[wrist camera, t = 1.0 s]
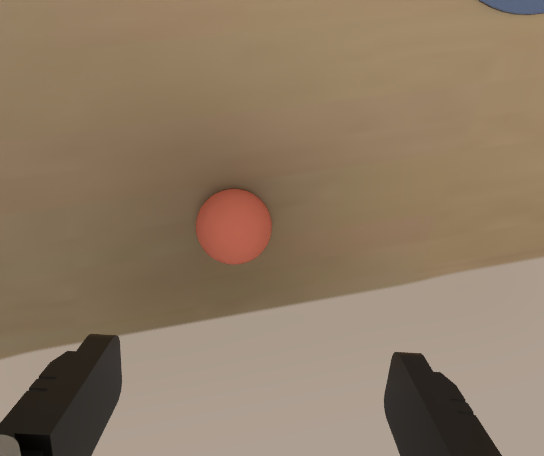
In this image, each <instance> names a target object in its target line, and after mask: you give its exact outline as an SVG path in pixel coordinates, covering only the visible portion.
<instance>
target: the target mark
mask: <svg viewBox="0 0 544 456" xmlns="http://www.w3.org/2000/svg"><path fill="white" fill-rule="evenodd" d="M479 1H481V2H482V3H484V4H486V5H488V6H490V7H492V8H494V9H497V10H500V11H503V12H508V13H513V14H526V15H530V14H539V13H544V0H479Z"/></svg>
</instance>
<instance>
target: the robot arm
mask: <svg viewBox="0 0 544 456" xmlns="http://www.w3.org/2000/svg"><path fill="white" fill-rule="evenodd" d="M121 386H122V374H121V356H120V340H119V337H118V336H117V335H100V334H90V335H88V336H87V338H86V339H85V340H84V342H83V343H82V344H81V346H80V347H79V348H78V350H77V351H67V352H65V353H64V354H62V355H61V356H59V357H58V358H56V359H55V360H53V361H52V362H50V364H49V365H48V366H47V367H46V368H45V370H44V371H43V372H42V373H41V374H40V376H39V379H36V381H35V382H34V383H33V384H32V385H31V386H30V388H29V391H27V392H26V393H25V394H24V395H23V396H22V397H21V399H20V400H19V401H18V402H17V404H16V405H15V406H14V407H13V408H12V410H11V411H10V412H9V413H8V415H7V416H6V417H5V418H4V419H3V421H2V422H1V423H0V456H91V455H92V453H93V451H94V449H95V447H96V445H97V443H98V441H99V439H100V437H101V435H102V433H103V431H104V429H105V427H106V425H107V423H108V420H109V418H110V416H111V415H112V413H113V410H114V408H115V406H116V404H117V402H118V400H119V396H120V392H121ZM384 408H385V414H386V418H387V421H388V424H389V426H390V429H391V432H392V434H393V437H394V440H395V443H396V445H397V448H398V451H399V453H400V456H502V455H501V454H500V452H499V451H498V449H497V448H496V446H495V445H494V443H493V441H492V440H491V438H490V437H489V435H488V434H487V433H486V431H485V429H484V428H483V426H482V425H481V423H480V421H479V420H478V418H477V417H476V416H475V415H474V414H473V411H472V409H471V408H470V406H469V405H468V403H466V402H465V399H464V397H463V395H462V394H461V392H460V391H459V389H458V388H457V386H456V385H455V384H454V383H453V382H451V381H450V380H449V379H448V378H447V377H445V376H444V375H443V374H442V373H440V372H433V371H432V369H431V367H430V366H429V364H428V363H427V361H426V359H425V357H424V356H423V355H422V354H421V353H404V352H403V353H402V352H395V353H394V354H393V356H392V359H391V365H390V369H389V375H388V380H387V385H386V390H385V395H384Z"/></svg>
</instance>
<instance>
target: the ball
mask: <svg viewBox="0 0 544 456" xmlns="http://www.w3.org/2000/svg"><path fill="white" fill-rule="evenodd" d="M271 231H272V222H271V217H270V214H269V211H268V209H267V207H266V206H265V204H264V203H263V202H262V201H261V200H260V199H259V198H258V197H257V196H255V195H254V194H252V193H250V192H248V191H245V190H241V189H227V190H223V191H220V192H218V193H216V194H214V195H213V196H211V197H210V198H209V199H208V200H207V201H206V202H205V203H204V204H203V205H202V207H201V209H200V211H199V213H198V216H197V221H196V232H197V237H198V240H199V242H200V244H201V246H202V248H203V249H204V250H205V252H206V253H207V254H208V255H210V256H211V257H212V258H214V259H215V260H217V261H220V262H222V263H226V264H242V263H245V262H248V261H250V260H252V259H254V258H256V257H257V256H258V255H259V254H261V252H262V251H263V250H264V249H265V247H266V246H267V244H268V242H269V240H270V236H271Z"/></svg>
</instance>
